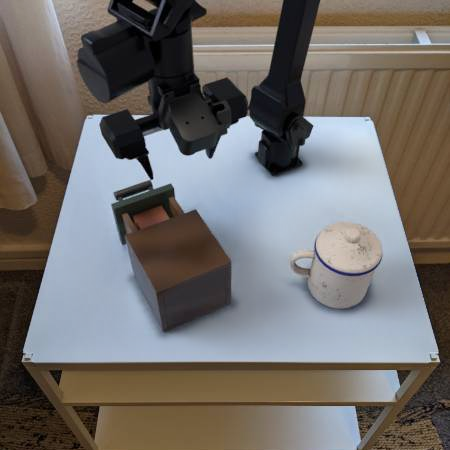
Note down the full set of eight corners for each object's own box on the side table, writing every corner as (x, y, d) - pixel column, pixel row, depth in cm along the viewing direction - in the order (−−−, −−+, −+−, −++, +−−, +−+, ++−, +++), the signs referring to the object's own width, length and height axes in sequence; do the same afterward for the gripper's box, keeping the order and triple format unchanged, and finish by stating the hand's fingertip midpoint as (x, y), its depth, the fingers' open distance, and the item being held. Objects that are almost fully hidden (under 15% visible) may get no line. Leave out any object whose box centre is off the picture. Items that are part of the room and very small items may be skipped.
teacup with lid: (364, 263, 77) (385, 209, 67) (370, 313, 72) (393, 262, 62) (286, 258, 77) (295, 204, 68) (286, 308, 72) (296, 256, 62)
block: (164, 226, 78) (161, 205, 74) (176, 246, 76) (174, 225, 72) (136, 236, 77) (132, 215, 73) (148, 257, 75) (144, 236, 71)
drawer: (108, 219, 80) (99, 182, 74) (162, 200, 83) (157, 163, 76) (143, 283, 73) (135, 249, 67) (201, 260, 76) (199, 225, 69)
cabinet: (134, 278, 75) (124, 235, 67) (198, 253, 78) (195, 208, 70) (163, 332, 70) (155, 292, 62) (230, 303, 72) (231, 261, 65)
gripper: (120, 127, 52) (142, 228, 65) (273, 77, 57) (265, 180, 70) (85, 73, 58) (111, 175, 71) (227, 31, 63) (227, 134, 76)
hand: (180, 167), depth 72 cm, fingers open, 9 cm apart
